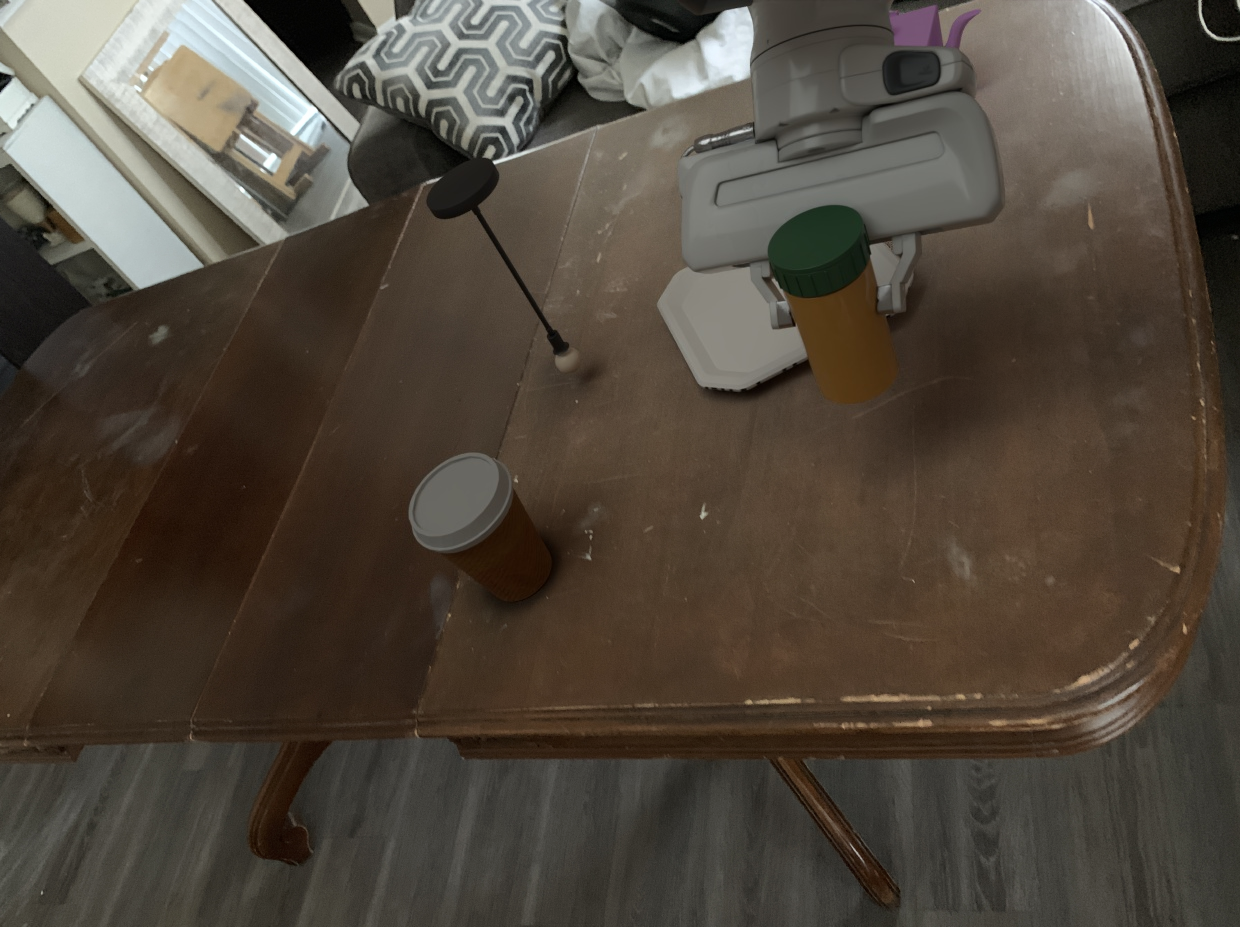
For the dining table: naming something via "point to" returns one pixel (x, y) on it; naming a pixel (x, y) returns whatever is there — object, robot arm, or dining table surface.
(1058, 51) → the dining table surface
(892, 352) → the jar
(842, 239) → the lid
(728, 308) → the plate
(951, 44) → the teapot
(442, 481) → the disposable coffee cup
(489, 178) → the light fixture
